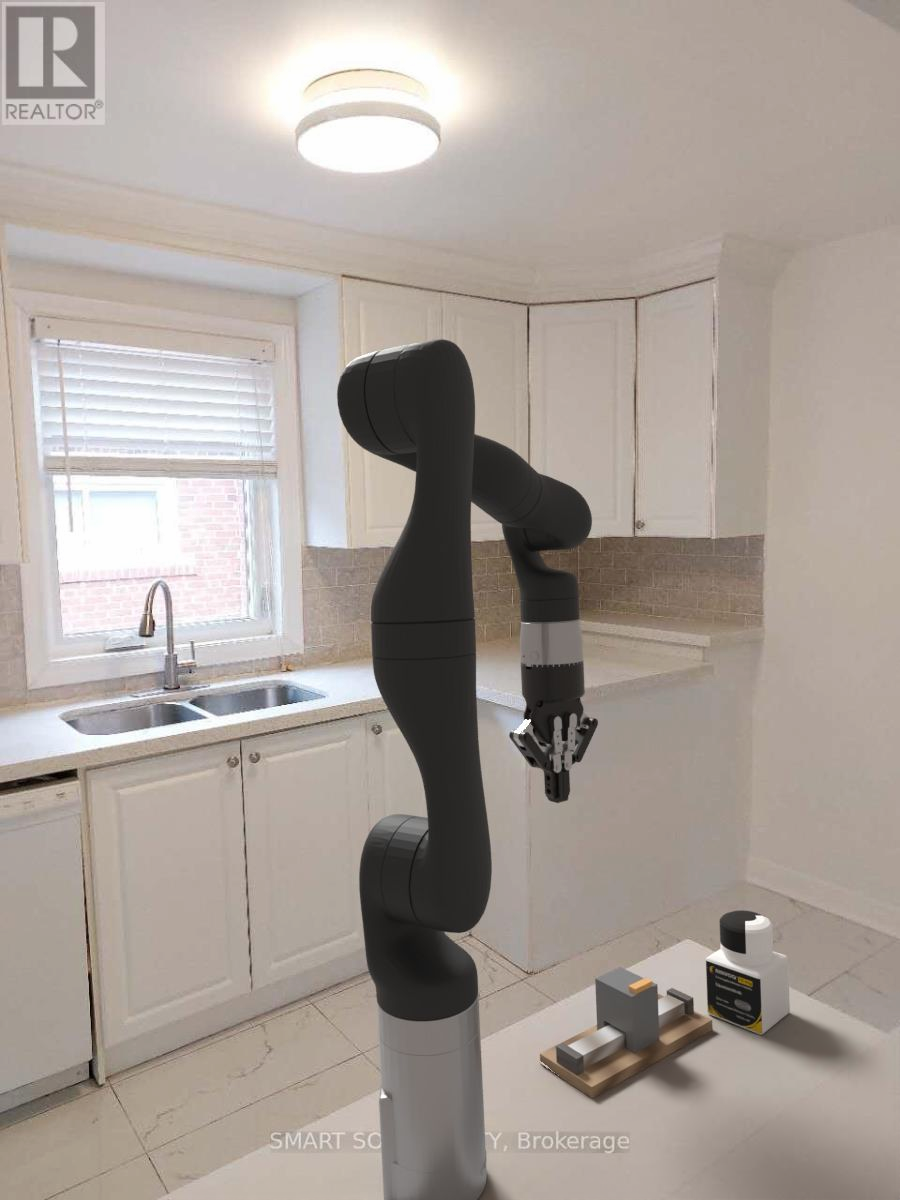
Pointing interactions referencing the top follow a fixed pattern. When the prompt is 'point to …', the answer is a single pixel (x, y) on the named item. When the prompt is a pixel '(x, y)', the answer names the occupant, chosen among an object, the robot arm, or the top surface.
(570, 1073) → the rail board
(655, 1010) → the block
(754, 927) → the medicine bottle
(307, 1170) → the top surface
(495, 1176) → the top surface
